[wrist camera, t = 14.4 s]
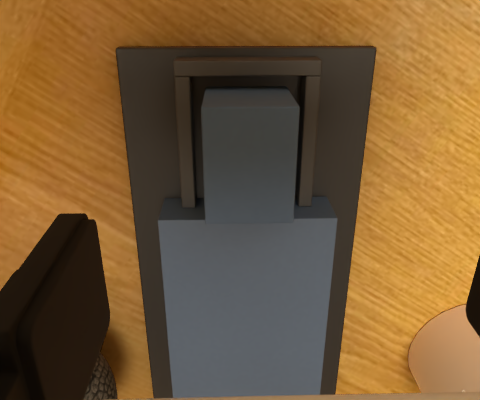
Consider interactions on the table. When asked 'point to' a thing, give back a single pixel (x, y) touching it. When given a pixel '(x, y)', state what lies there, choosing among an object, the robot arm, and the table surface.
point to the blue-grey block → (249, 154)
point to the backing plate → (166, 176)
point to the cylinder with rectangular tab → (446, 354)
